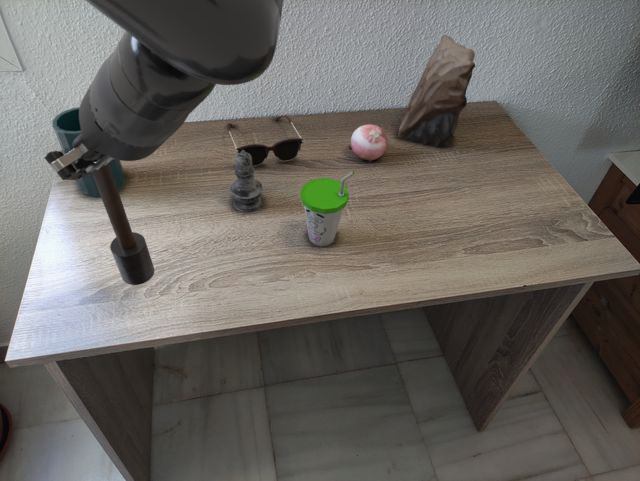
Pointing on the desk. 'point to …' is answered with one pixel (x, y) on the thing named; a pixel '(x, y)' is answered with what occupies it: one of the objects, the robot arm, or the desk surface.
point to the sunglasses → (272, 148)
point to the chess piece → (246, 185)
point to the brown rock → (439, 95)
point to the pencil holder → (66, 132)
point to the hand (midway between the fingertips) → (89, 164)
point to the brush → (123, 233)
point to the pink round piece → (368, 142)
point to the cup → (324, 208)
